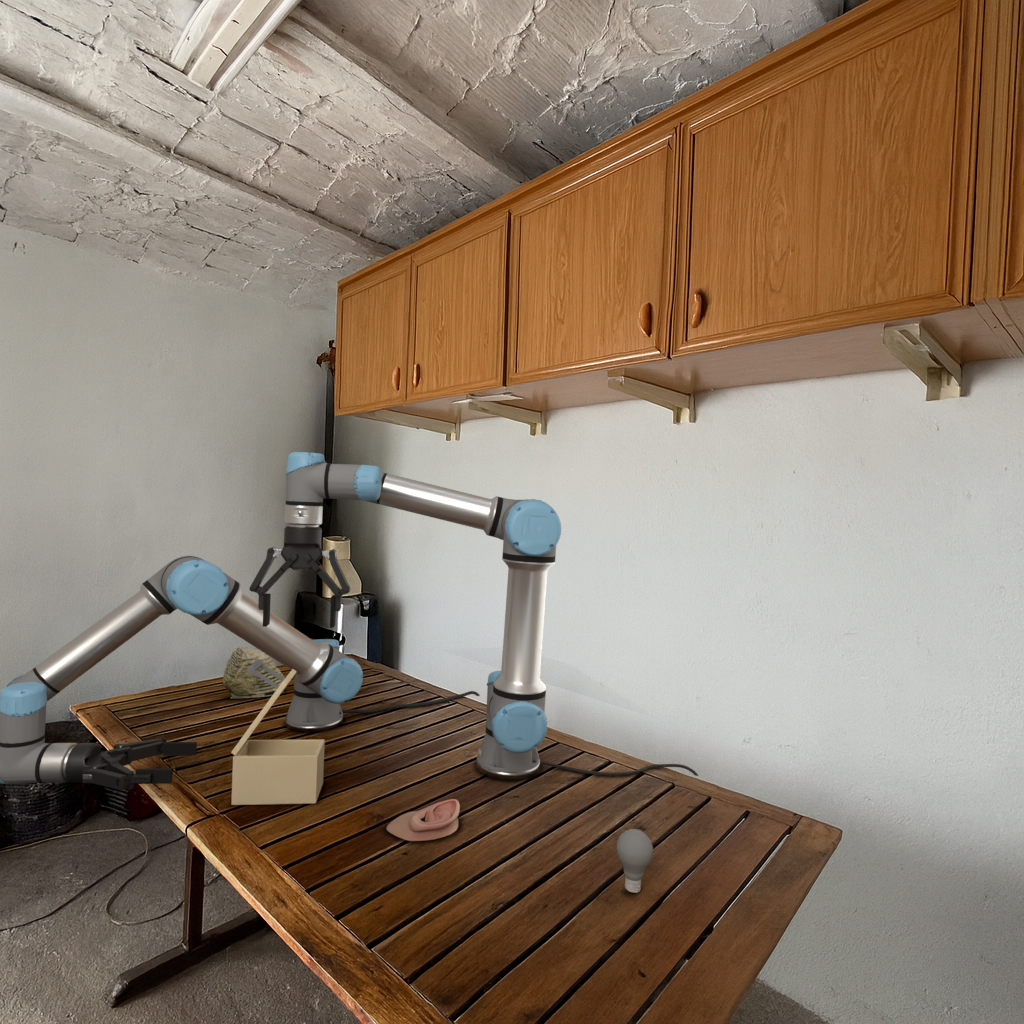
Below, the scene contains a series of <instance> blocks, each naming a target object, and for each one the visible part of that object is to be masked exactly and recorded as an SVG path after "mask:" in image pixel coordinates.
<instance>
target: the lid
mask: <svg viewBox="0 0 1024 1024" xmlns="http://www.w3.org/2000/svg"><path fill="white" fill-rule="evenodd" d="M260 667H261V668H262V669H264V670H265V671H267V672H268V673H270V674H271V675H273V676H274V677H276V678H278V679H279V680H281V681H282V683H281V684H280V686H279V685H278V684H276V683H275V682H273V681H272V680H270V679H269V678H267V677H266V676H264V675H263V674H261V673H259V672H258V671H257V670H258V669H259V668H260ZM296 672H297V671H295V670H294V669H292V670H291V669H290V671H289V673H288V674H287V675H286V677H285V676H284V677H285V678H284V677H282V676H281V675H279V674H278V673H276V672H275V671H273V670H271V669H270V668H268V667H267V666H265V665H264V664H263V662H262V660H261V659H257V660H256V661H255V662H253V663H252V664H251V665H250V666H249V667H248V668H247V673H248V674H250V675H251V674H254V675H256V676H257V677H259V678H261V679H262V680H264V681H265V682H267V683H268V684H270V685H271V686H273V687H274V688H276V689H277V690H276V691H275V693H274V694H273V695H272V696H270V698H269V699H268V701H267V702H266V704H265V705H264V706H263V708H262V709H261V711H260V712H259V714H258V715H257V716H256V718H255V719H254V720H253V722H252V723H251V724H250V726H249V727H248V728H247V730H246V731H245V733H244V734H243V735H242V736H241V738H240V739H239V741H238V742H237V744H236V745H235V746H234V748H233V749H232V750H231V752H230V753H231V754H232V755H233V756H234V755H236V754H237V753H238V751H239V750H240V749H241V747H242V746H243V745H244V743H245V742H246V741H247V740H249V738H250V737H251V735H252V734H253V732H254V731H255V730H256V729H257V728H258V726H259V724H260V723H261V722H262V720H263V719H264V717H265V716H266V715H267V714H268V712H269V710H270V709H271V708H272V706H273V705H274V703H275V702H276V701H277V700H278V699H279V697H280V695H281V694H283V693H282V691H283V690H284V688H285V687H286V686H287V687H288V684H289V683H290V681H292V679H293V678H294V675H295V673H296ZM287 687H286V688H287Z"/></svg>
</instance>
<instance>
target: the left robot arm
mask: <svg viewBox="0 0 1024 1024" xmlns="http://www.w3.org/2000/svg"><path fill="white" fill-rule="evenodd" d="M258 603H259V602H257V601H255V600H254V599H252V598H250V597H249V596H247V595H246V594H244V593H243V592H242V587H241V583H240V582H239V581H237V580H236V579H234V578H233V577H231V576H230V575H228V574H227V573H226V572H224V571H223V570H222V569H221V568H220V567H219V566H218V565H216V564H215V563H213V562H210V561H207V560H205V559H203V558H201V557H199V556H194V555H184V556H180V557H176V558H174V559H173V560H171V561H170V562H168V563H166V564H165V565H164V566H163V567H161V568H160V569H159V570H157V572H155V573H154V574H153V575H152V576H151V577H149V578H147V579H146V580H145V581H144V582H142V583H141V584H140V587H139V591H137V592H136V593H135V594H133V595H132V596H130V597H129V598H128V599H126V600H125V601H124V602H122V603H121V604H120V605H118V606H117V607H115V608H114V609H113V610H111V611H109V612H108V613H107V614H105V616H103V617H102V618H100V619H99V620H97V621H96V622H95V623H93V624H91V626H90V627H88V628H86V629H85V630H84V631H82V632H81V633H80V634H78V635H77V636H75V637H74V638H73V639H72V640H70V641H69V642H67V643H66V644H64V645H63V646H62V647H60V648H59V649H58V650H56V651H55V652H54V653H52V654H50V655H49V656H48V657H47V658H45V659H43V661H41V662H40V663H38V664H37V665H35V666H34V667H33V668H32V669H30V670H29V671H28V672H26V673H23V674H21V675H18V676H15V677H13V678H12V679H11V680H10V681H9V682H8V683H7V684H6V686H5V687H4V688H2V689H1V691H0V784H1V785H2V784H3V785H4V784H5V785H17V784H18V785H19V784H21V785H22V784H54V785H56V786H58V785H60V784H61V783H62V784H65V783H68V782H69V783H71V784H73V783H74V784H77V783H79V784H81V783H82V784H94V785H97V786H102V787H105V788H109V789H112V790H113V789H114V790H118V791H124V790H127V791H130V790H133V789H134V785H154V784H156V785H158V784H159V785H160V784H161V785H162V784H163V785H165V784H166V785H167V784H168V785H169V784H172V782H173V768H172V767H164V768H162V767H160V768H158V767H157V768H156V767H155V768H136V769H135V771H134V770H133V769H130V768H128V767H127V766H129V765H131V764H132V762H135V761H139V760H140V761H141V760H143V759H148V758H150V757H151V758H152V757H156V756H160V755H162V756H164V757H174V756H175V757H177V756H178V757H179V756H184V757H185V756H187V757H189V756H196V755H197V753H198V752H197V748H198V742H197V741H167V737H165V736H164V737H160V738H153V739H147V740H140V741H134V742H128V743H127V742H125V743H115V744H113V748H111V749H108V750H104V749H102V746H101V745H100V744H99V743H97V742H81V743H80V742H79V743H77V742H54V743H53V742H49V743H48V742H45V741H46V720H47V703H48V702H49V701H50V700H51V699H53V698H54V697H55V696H57V695H58V694H59V693H61V692H62V691H63V690H65V688H67V687H68V686H69V685H71V684H73V682H75V681H76V680H77V679H79V678H81V676H83V675H84V674H85V673H87V672H88V671H89V670H91V669H92V668H93V667H95V666H96V665H97V664H98V663H100V662H101V661H103V660H104V659H105V658H107V657H108V656H109V655H110V654H112V653H113V652H115V651H116V650H117V649H119V648H120V647H121V646H123V645H124V644H125V643H126V642H128V641H129V640H131V639H132V638H133V637H134V636H136V635H137V634H138V633H139V632H141V631H142V630H143V629H146V627H148V626H149V625H150V624H151V623H153V622H154V621H156V620H157V619H159V618H160V617H161V616H163V615H167V616H169V615H170V614H173V613H174V612H175V611H176V610H179V611H180V612H182V613H184V614H188V615H191V616H192V617H194V618H195V619H197V620H198V621H199V622H201V623H203V624H205V625H206V626H210V625H214V624H218V625H219V626H221V627H222V628H224V629H226V630H227V631H229V632H231V634H233V635H236V637H238V638H240V639H242V640H243V641H245V642H246V643H248V644H250V645H251V646H252V647H254V648H255V649H257V648H258V649H259V650H261V651H262V652H264V653H266V654H267V655H268V656H269V658H271V659H272V660H275V661H276V662H278V663H280V664H282V665H283V666H284V667H286V668H287V669H288V670H289V669H290V671H291V670H292V669H294V670H295V671H297V672H296V673H295V675H294V676H293V695H292V696H293V697H292V699H291V702H290V704H289V708H288V710H287V712H286V714H285V726H286V728H287V729H289V730H291V731H294V732H295V731H296V732H301V733H316V732H325V731H329V730H332V729H335V728H337V727H339V726H340V725H342V723H343V722H344V714H373V713H379V712H383V711H388V710H394V709H404V708H416V707H423V706H430V705H434V704H435V705H436V704H440V703H445V702H448V701H452V700H456V699H459V698H464V697H466V696H469V695H473V696H474V695H475V696H476V697H480V696H481V695H480V693H478V692H477V691H474V690H469V691H467V692H466V691H465V692H464V693H460V694H455V695H451V696H449V697H445V698H439V699H434V700H430V701H422V702H416V703H403V704H393V705H387V706H381V707H377V708H372V709H342V706H341V704H344V703H347V702H349V701H350V700H352V699H353V698H354V697H355V696H356V695H357V694H358V693H359V691H360V689H361V687H362V685H363V680H364V672H363V669H362V666H361V665H360V664H359V662H357V660H356V659H354V658H352V657H349V656H348V655H346V654H345V653H343V652H341V650H340V647H341V646H340V642H339V640H337V639H334V638H333V639H332V638H323V639H322V638H320V639H311V638H309V636H307V635H305V634H304V633H302V632H301V631H299V630H298V629H297V628H295V627H293V626H292V625H291V624H289V623H287V621H284V620H283V619H282V618H280V617H279V616H277V615H276V614H274V613H272V611H270V624H269V625H268V626H267V627H263V610H259V608H258Z"/></svg>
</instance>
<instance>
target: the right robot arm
mask: <svg viewBox="0 0 1024 1024" xmlns="http://www.w3.org/2000/svg"><path fill="white" fill-rule="evenodd" d="M324 499H327V500H328V499H329V500H331V499H334V500H347V501H348V500H350V501H362V502H367V503H371V504H376V505H380V506H385V507H389V508H392V509H397V510H401V511H405V512H409V513H413V514H417V515H421V516H424V517H429V518H433V519H437V520H440V521H445V522H449V523H453V524H458V525H460V526H461V525H462V526H465V527H469V528H474V529H477V530H481V531H483V532H484V534H485V535H486V536H488V537H492V538H495V539H499V540H500V541H501V540H502V556H501V560H502V561H503V562H504V564H506V566H507V568H508V570H507V584H506V597H505V613H504V625H503V639H502V640H503V641H502V654H501V655H502V656H501V669H500V670H494V671H491V672H490V673H489V674H488V677H487V682H486V686H487V689H486V691H487V692H486V711H485V712H486V714H485V715H486V717H485V734H484V737H483V740H482V742H481V744H480V747H479V749H478V753H477V756H476V769H477V770H478V771H479V773H481V774H483V775H485V776H487V777H490V778H492V779H497V780H505V781H518V780H519V781H520V780H525V779H528V778H532V777H534V776H535V775H537V774H538V773H539V772H540V768H541V767H540V766H541V765H543V766H548V767H553V768H557V769H560V770H561V769H562V770H566V771H570V772H571V771H572V772H575V773H576V772H577V773H581V774H585V775H586V774H588V775H595V776H597V775H598V776H610V777H611V776H613V777H615V776H616V777H617V776H629V775H636V774H639V773H643V772H645V771H647V770H650V769H653V768H654V769H655V768H679V769H680V768H681V769H684V770H687V771H689V772H690V773H692V774H693V775H694V776H696V777H698V776H699V774H698V773H697V772H696V771H695V770H694V769H693V768H691V767H690V766H687V765H685V764H679V763H655V764H649V765H646V766H643V767H641V768H639V769H634V770H630V771H614V772H612V771H611V772H610V771H607V772H606V771H595V770H594V771H593V770H587V769H580V768H575V767H571V766H567V765H562V764H557V763H554V762H553V763H552V762H547V761H542V760H541V759H540V755H539V752H538V751H539V750H538V748H537V747H539V746H540V745H541V744H542V743H543V741H544V740H545V737H546V736H547V731H548V718H547V715H546V713H545V711H546V709H545V708H546V694H547V686H546V684H545V683H544V681H542V679H541V668H542V657H543V656H542V654H543V640H544V628H545V627H544V626H545V612H546V598H547V585H548V584H547V583H548V571H549V570H550V568H552V567H553V566H554V565H555V564H556V556H557V546H558V543H559V541H560V538H561V536H562V522H561V520H560V516H559V515H558V513H557V511H556V510H555V509H554V508H553V506H551V505H550V504H549V503H548V502H546V501H543V500H541V499H536V498H529V499H528V498H526V499H513V498H506V497H502V496H497V495H496V496H494V497H493V498H488V497H483V496H481V495H480V496H479V495H475V494H471V493H468V492H464V491H460V490H456V489H451V488H447V487H444V486H440V485H436V484H432V483H427V482H424V481H419V480H415V479H411V478H408V477H404V476H399V475H395V474H391V473H387V472H383V471H382V469H381V467H380V466H378V465H371V464H370V465H369V464H353V463H351V464H350V463H349V464H348V463H331V462H330V463H329V462H326V460H325V455H324V454H323V453H318V452H307V451H294V452H291V453H289V454H288V457H287V464H286V472H285V506H284V523H285V524H286V525H287V526H285V527H284V530H283V547H282V548H276V547H274V546H271V547H269V548H267V550H266V557H265V560H264V561H263V563H262V565H261V566H260V568H259V570H258V572H257V573H256V576H255V577H254V579H253V581H252V582H251V584H250V586H249V591H250V592H252V593H256V594H257V595H258V602H257V603H258V608H259V610H263V627H267V626H268V625H269V624H270V612H271V593H268V591H269V590H270V589H271V588H272V587H273V586H274V585H275V584H277V582H278V581H279V579H281V578H282V576H283V575H284V574H285V573H286V572H288V571H289V569H291V570H292V571H299V570H302V571H310V570H313V571H314V572H315V573H316V574H317V575H318V576H319V578H320V579H321V580H322V581H323V583H324V584H325V585H326V586H327V587H328V589H329V590H330V591H331V592H332V595H331V596H330V610H329V611H330V614H329V615H330V616H329V628H330V629H333V628H335V626H336V619H337V618H336V617H337V614H336V613H337V612H340V611H341V609H342V598H343V597H342V596H343V595H347V594H349V593H350V592H351V590H352V589H351V586H350V584H349V582H348V579H347V577H346V575H345V573H344V572H343V569H342V567H341V564H340V563H339V561H338V555H337V549H335V548H332V549H328V550H323V549H322V533H323V529H322V527H320V525H322V524H323V513H324V512H323V509H324V507H323V506H324V505H323V504H324ZM279 556H281V557H282V558H283V560H284V563H283V564H282V565H280V567H279V568H278V569H277V571H276V572H275V573H273V574H272V576H270V578H269V579H268V580H267V581H266V582H265V583H264V584H263V585H262V586H261V584H262V583H263V581H264V580H265V577H266V576H267V574H268V572H269V570H270V568H271V566H272V565H273V563H274V561H275V559H278V558H279ZM323 557H325V559H326V560H327V561H329V563H330V566H331V568H332V570H333V573H334V575H335V577H336V579H337V581H338V584H339V585H340V586H339V585H338V584H337V583H336V582H335V581H334V579H333V578H332V577H331V576H330V574H328V572H327V571H326V569H325V568H324V566H323V565H322V564H321V563H320V560H321V559H322V558H323ZM340 587H341V588H340Z"/></svg>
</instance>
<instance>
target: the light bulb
mask: <svg viewBox="0 0 1024 1024" xmlns="http://www.w3.org/2000/svg"><path fill="white" fill-rule="evenodd" d="M615 849H616V854H617V857H618V859H619V861H620V863H621V865H622V867H623V873H624V874H623V875H624V876H625V878H624V888H625V890H627V891H628V892H630V893H634V894H635V893H639V892H640V891H641V889H642V887H641V886H642V879H643V877H644V875H645V871H646V868H647V867H648V866H649V864H650V863H651V861H652V859H653V855H654V847H653V843H652V841H651V838H649V836H648V835H647V834H646V833H645V832H643V831H642V830H641V829H636V828H629V829H627V830H625V831H623V832H622V833H621V834H620V835H619V837H618V839H617V841H616V847H615Z"/></svg>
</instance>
